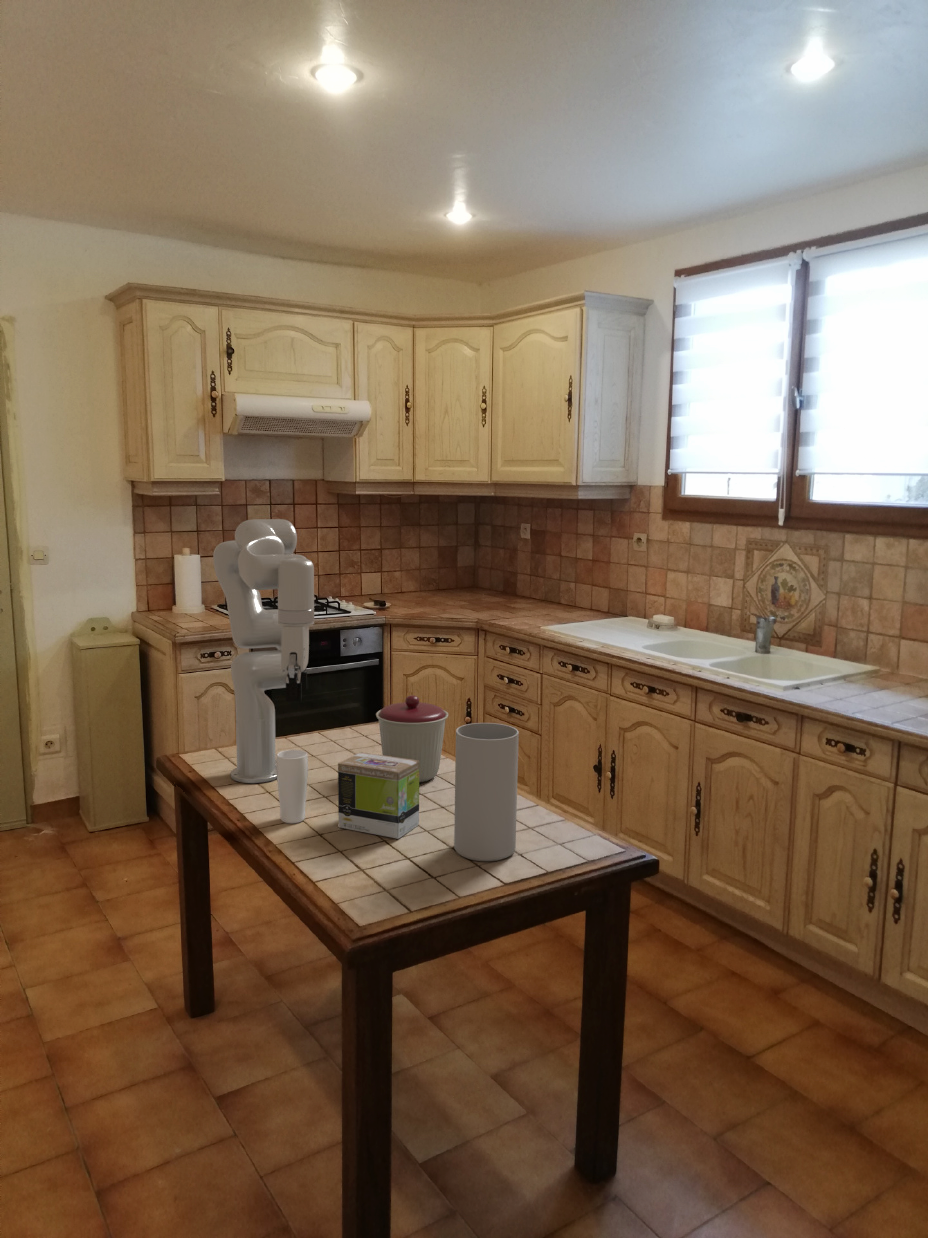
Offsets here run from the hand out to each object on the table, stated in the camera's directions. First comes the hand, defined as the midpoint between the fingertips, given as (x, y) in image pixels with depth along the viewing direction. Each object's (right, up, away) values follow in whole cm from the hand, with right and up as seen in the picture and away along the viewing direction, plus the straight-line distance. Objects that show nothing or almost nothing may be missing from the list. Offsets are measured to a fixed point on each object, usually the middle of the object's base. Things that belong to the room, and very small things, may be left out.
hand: (296, 695), depth 194 cm
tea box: (+18, -29, +2) cm, 34 cm away
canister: (+23, -24, +35) cm, 48 cm away
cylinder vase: (+40, -31, -10) cm, 52 cm away
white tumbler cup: (-2, -28, +4) cm, 28 cm away
